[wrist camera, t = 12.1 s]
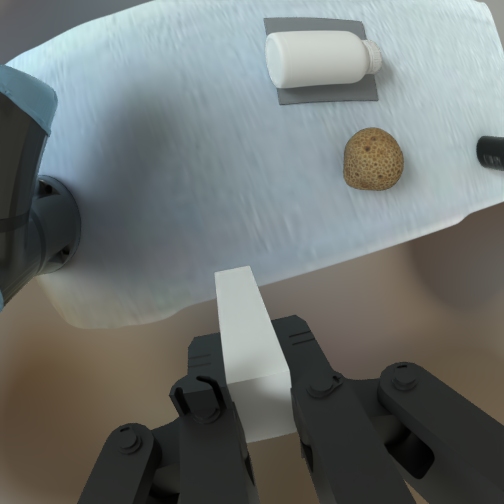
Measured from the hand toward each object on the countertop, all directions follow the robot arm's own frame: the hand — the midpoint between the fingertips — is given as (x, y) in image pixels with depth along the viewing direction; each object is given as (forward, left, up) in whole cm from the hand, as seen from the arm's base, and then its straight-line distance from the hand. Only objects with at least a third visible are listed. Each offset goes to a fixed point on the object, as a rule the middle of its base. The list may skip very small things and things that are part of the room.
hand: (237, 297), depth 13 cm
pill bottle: (+10, +17, -26) cm, 32 cm away
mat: (+19, +18, -30) cm, 40 cm away
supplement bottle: (+55, +2, -31) cm, 63 cm away
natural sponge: (+22, +2, -31) cm, 38 cm away
